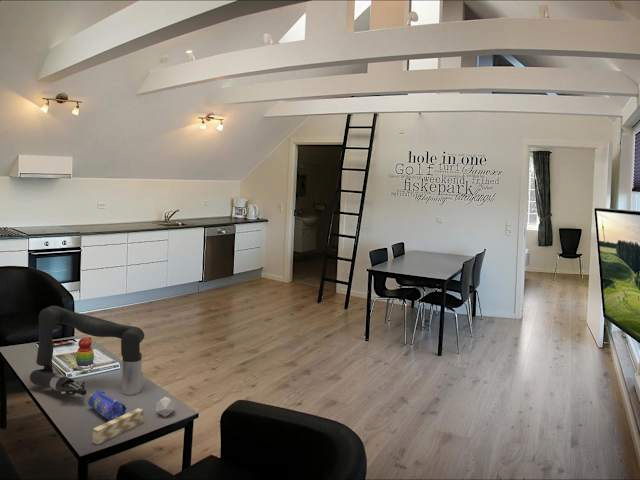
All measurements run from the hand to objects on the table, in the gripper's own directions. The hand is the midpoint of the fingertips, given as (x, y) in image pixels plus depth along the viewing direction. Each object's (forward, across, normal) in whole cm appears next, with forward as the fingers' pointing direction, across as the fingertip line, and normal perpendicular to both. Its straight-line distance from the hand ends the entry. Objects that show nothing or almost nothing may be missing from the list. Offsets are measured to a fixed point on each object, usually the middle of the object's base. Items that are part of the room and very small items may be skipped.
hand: (85, 392), depth 244 cm
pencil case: (+15, 0, +7) cm, 17 cm away
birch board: (+33, -8, +6) cm, 34 cm away
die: (+36, +16, +7) cm, 40 cm away
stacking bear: (-41, +30, +7) cm, 51 cm away
